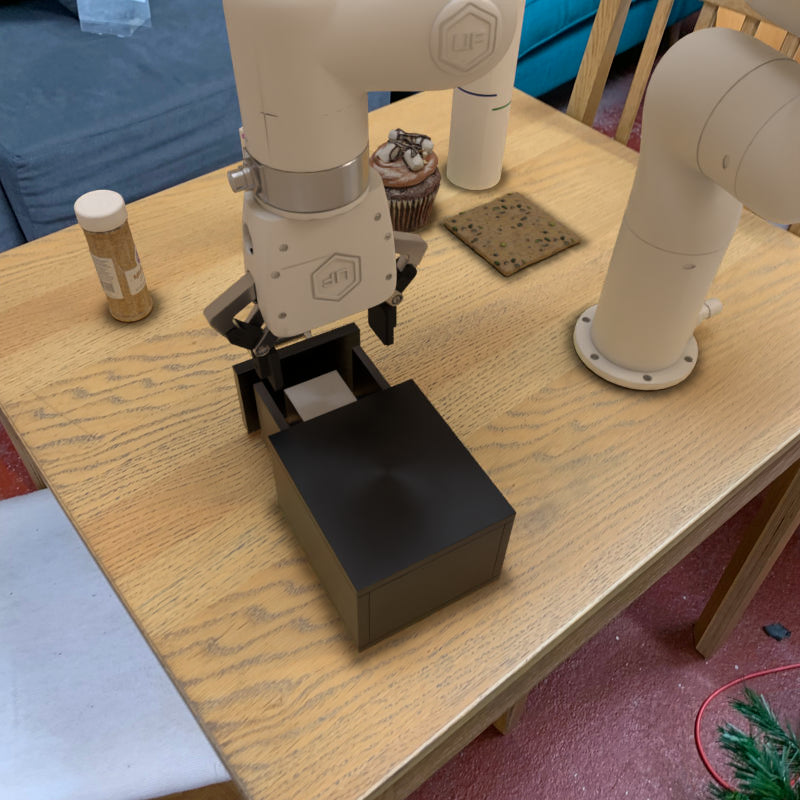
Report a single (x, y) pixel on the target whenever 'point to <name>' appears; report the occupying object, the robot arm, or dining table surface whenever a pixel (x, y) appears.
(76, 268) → the dining table surface
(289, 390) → the grey metal cube
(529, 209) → the cookie
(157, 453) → the dining table surface
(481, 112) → the cylindrical container
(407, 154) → the cupcake
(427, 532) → the black drawer box
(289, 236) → the robot arm
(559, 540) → the dining table surface
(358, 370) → the black drawer
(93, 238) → the spice jar
